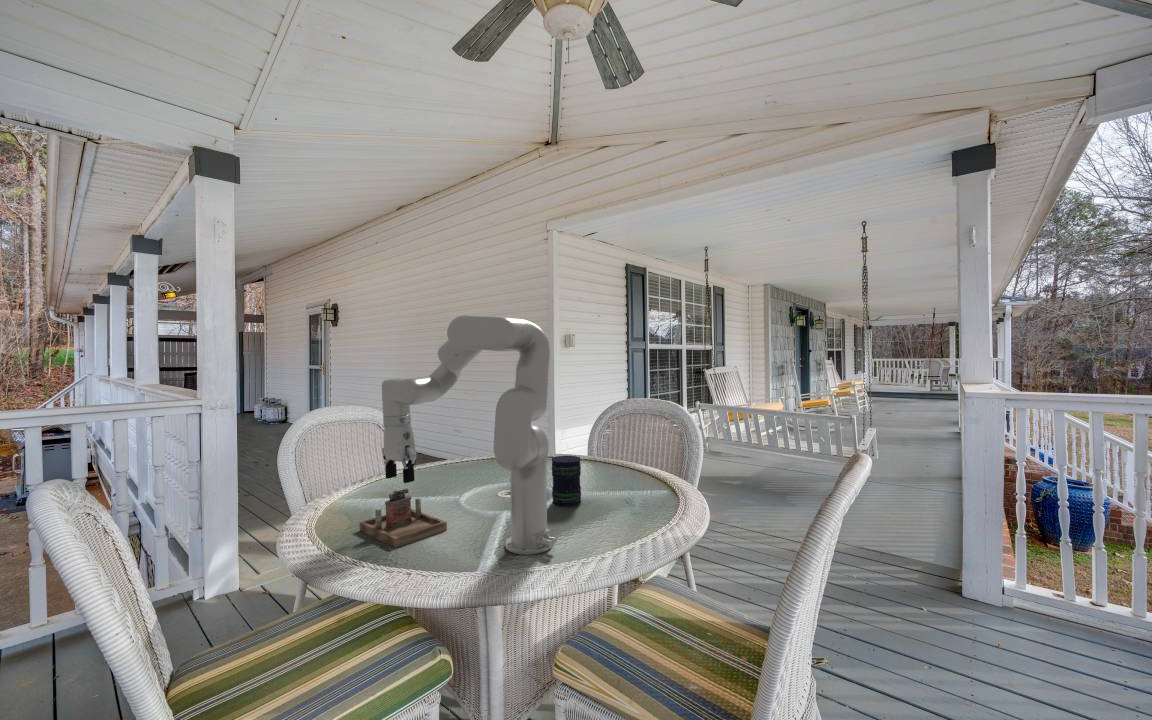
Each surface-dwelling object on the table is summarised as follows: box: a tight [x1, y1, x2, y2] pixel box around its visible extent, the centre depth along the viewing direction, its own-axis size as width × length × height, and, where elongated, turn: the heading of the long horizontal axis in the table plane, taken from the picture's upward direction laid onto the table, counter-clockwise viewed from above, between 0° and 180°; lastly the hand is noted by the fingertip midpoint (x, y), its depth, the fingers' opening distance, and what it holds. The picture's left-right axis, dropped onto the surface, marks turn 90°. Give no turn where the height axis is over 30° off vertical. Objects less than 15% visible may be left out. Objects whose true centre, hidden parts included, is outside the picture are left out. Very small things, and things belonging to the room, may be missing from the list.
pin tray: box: [359, 497, 448, 549], centre depth 141 cm, size 20×16×7 cm
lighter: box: [384, 487, 412, 529], centre depth 143 cm, size 8×3×10 cm, turn 143°
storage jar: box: [551, 455, 582, 508], centre depth 164 cm, size 10×10×15 cm
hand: (399, 479), depth 142 cm, fingers open, 9 cm apart
